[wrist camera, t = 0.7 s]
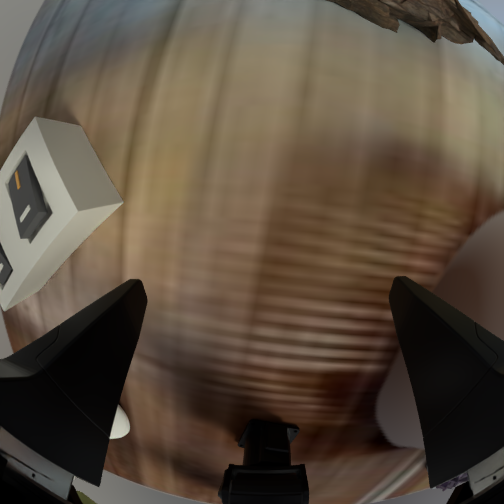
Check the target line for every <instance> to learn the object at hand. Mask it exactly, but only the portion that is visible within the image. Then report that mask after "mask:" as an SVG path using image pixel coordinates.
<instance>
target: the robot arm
mask: <svg viewBox="0 0 504 504" xmlns="http://www.w3.org/2000/svg"><path fill="white" fill-rule="evenodd" d="M389 303H390V307H391V311H392V316H393V320H394V325H395V329H396V333H397V337H398V341H399V344H400V347H401V350H402V354H403V357H404V360H405V364H406V367H407V370H408V374H409V378H410V382H411V385H412V389H413V393H414V397H415V401H416V406H417V410H418V415H419V419H420V424H421V429H422V434H423V437H424V438H423V441H424V446H425V453H426V460H427V467H428V475H429V484H430V488H434V487H436V486H438V485H441V484H443V483H445V482H447V481H449V480H451V479H454V478H456V477H458V476H460V475H462V474H463V473H465V472H467V476H468V481H467V482H465V483H463V484H461V485H459V486H457V487H455V489H454V491H453V493H452V495H451V497H450V498H449V500H448V502H447V504H504V341H503V340H501V339H500V338H498V337H497V336H495V335H494V334H492V333H491V332H489V331H488V330H486V329H485V328H483V327H482V326H480V325H479V324H478V323H476V322H474V321H473V320H472V319H471V318H469V317H467V316H466V315H465V314H463V313H462V312H460V311H459V310H457V309H456V308H454V307H453V306H451V305H450V304H448V303H447V302H445V301H444V300H442V299H441V298H439V297H437V296H436V295H435V294H433V293H432V292H430V291H428V290H427V289H425V288H424V287H422V286H421V285H419V284H417V283H416V282H414V281H413V280H411V279H409V278H408V277H406V276H397V277H395V278H394V280H393V284H392V287H391V290H390V294H389ZM146 306H147V296H146V293H145V289H144V286H143V283H142V281H141V280H140V279H129V280H128V281H126V282H125V283H123V284H121V285H120V286H118V287H117V288H115V289H113V290H112V291H110V292H109V293H107V294H106V295H104V296H102V297H101V298H99V299H98V300H96V301H95V302H93V303H92V304H90V305H88V306H87V307H85V308H84V309H82V310H81V311H79V312H78V313H76V314H75V315H73V316H72V317H70V318H69V319H67V320H66V321H64V322H63V323H61V324H60V325H58V326H57V327H55V328H54V329H52V330H51V331H49V332H48V333H46V334H45V335H43V336H42V337H40V338H39V339H37V340H35V341H34V342H32V343H30V344H29V345H27V346H25V347H24V348H22V349H20V350H19V351H17V352H15V353H14V354H12V355H11V356H9V357H7V358H4V359H0V504H83V503H82V501H81V499H80V497H79V495H78V493H77V491H76V489H75V487H74V486H73V485H72V482H73V479H74V476H75V477H77V478H79V479H82V480H84V481H86V482H88V483H91V484H93V485H95V486H97V487H99V486H100V483H101V477H102V472H103V467H104V462H105V457H106V453H107V448H108V444H109V440H110V438H109V437H110V435H111V431H112V427H113V423H114V419H115V415H116V411H117V408H118V404H119V400H120V397H121V393H122V390H123V386H124V383H125V380H126V377H127V373H128V370H129V367H130V364H131V361H132V358H133V354H134V351H135V348H136V345H137V342H138V339H139V336H140V332H141V327H142V323H143V319H144V314H145V310H146ZM298 433H299V428H298V427H294V426H287V425H281V424H275V423H270V422H264V421H259V420H254V419H253V420H250V421H249V423H248V425H247V427H246V429H245V431H244V433H243V434H242V436H241V438H240V440H239V442H238V446H239V447H242V448H244V458H243V465H234V464H229V467H228V469H227V470H225V473H224V479H223V482H222V484H221V487H220V489H219V491H218V496H219V497H220V498H221V499H222V503H223V504H308V503H309V487H308V481H307V475H306V469H305V464H300V465H291V453H290V443H291V442H292V441H293V440H294V438H295V437H296V436H297V434H298Z"/></svg>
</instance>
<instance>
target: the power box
mask: <svg viewBox="0 0 504 504" xmlns="http://www.w3.org/2000/svg"><path fill="white" fill-rule="evenodd" d="M25 155H27V156H28V157H29V160H30V162H31V165H32V167H33V170H34V172H35V175H36V177H37V179H38V182H39V184H40V187H41V191H42V195H43V198H44V202H45V205H46V209H47V212H48V213H47V214H46V215H45V217H44V218H43V219H42V221H41V222H40V224H39V225H38V226H37V228H36V229H35V231H34V232H33V234H32V235H31V237H30V238H29V239H20V235H19V232H18V228H17V224H16V220H15V215H14V211H13V206H12V201H11V196H10V191H9V185H8V183H9V181H10V179H11V178H12V176H13V174H14V173H15V171H16V169H17V168H18V166H19V164H20V163H21V161H22V160H23V158H24V157H25ZM123 203H124V202H123V200H122V198H121V197H120V195H119V193H118V192H117V190H116V188H115V187H114V185H113V183H112V181H111V180H110V178H109V176H108V175H107V173H106V171H105V169H104V168H103V166H102V164H101V162H100V160H99V159H98V157H97V155H96V153H95V151H94V149H93V148H92V146H91V144H90V142H89V140H88V138H87V136H86V134H85V132H84V130H83V128H82V127H81V126H80V125H75V124H70V123H66V122H61V121H56V120H51V119H46V118H40V117H34V119H33V120H32V121H31V123H30V124H29V126H28V127H27V128H26V130H25V131H24V133H23V134H22V136H21V137H20V139H19V140H18V142H17V143H16V145H15V147H14V148H13V150H12V151H11V153H10V155H9V156H8V158H7V160H6V162H5V163H4V165H3V167H2V169H1V171H0V243H1V245H2V247H3V250H4V252H5V254H6V256H7V258H8V260H9V262H10V265H11V267H12V269H13V272H12V274H11V275H10V277H9V279H8V281H7V282H6V283H5V284H4V285H2V284H1V283H0V305H1V307H2V309H3V310H4V312H5V311H6V310H8V309H9V308H11V307H13V306H14V305H16V304H18V303H19V302H21V301H23V300H24V299H26V298H28V297H29V296H31V295H33V294H34V293H36V292H38V291H40V290H41V288H42V287H43V286H44V285H45V284H46V282H47V281H48V280H49V279H50V278H51V276H52V275H53V274H54V273H55V272H56V271H57V270H58V268H59V267H60V266H61V265H62V264H63V263H64V262H65V261H66V259H67V258H68V257H69V256H70V255H71V254H72V253H73V252H74V251H75V250H76V249H77V248H78V247H79V245H80V244H81V243H82V242H83V241H84V240H85V239H86V238H87V237H88V236H89V235H90V234H91V233H92V232H93V231H94V230H95V229H96V228H97V227H98V226H99V225H100V224H101V223H102V222H103V221H104V220H106V219H107V218H108V217H109V216H110V215H111V214H112V213H113V212H114V211H115V210H116V209H117V208H118V207H119V206H121V205H122V204H123Z"/></svg>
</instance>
